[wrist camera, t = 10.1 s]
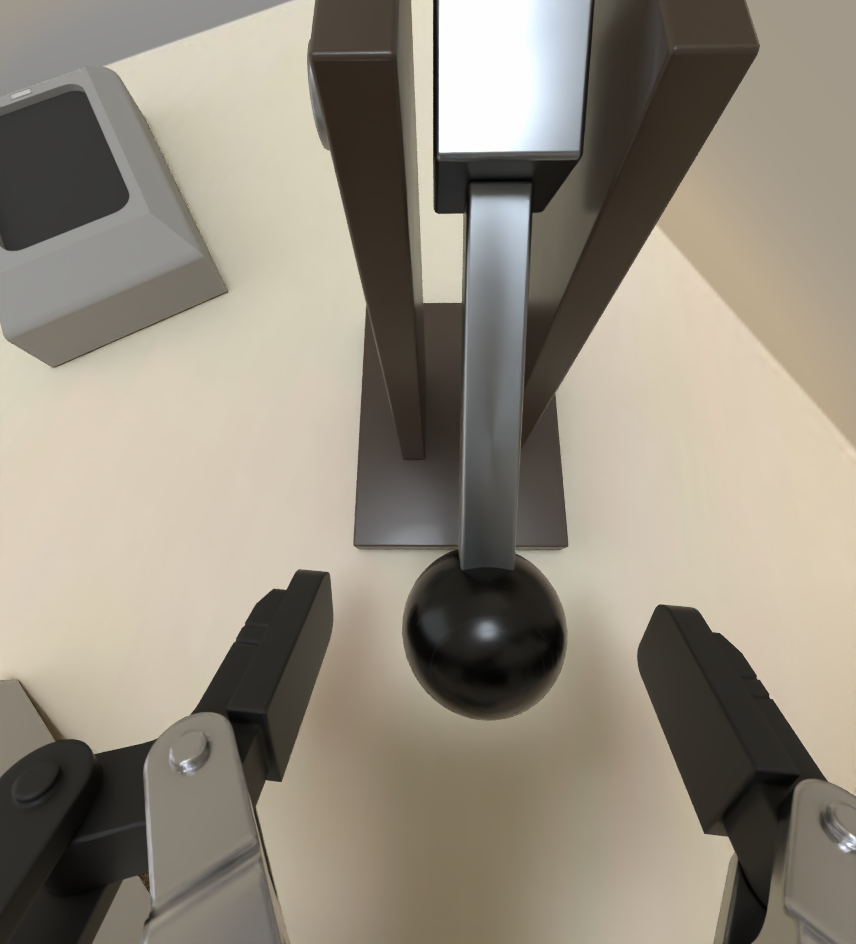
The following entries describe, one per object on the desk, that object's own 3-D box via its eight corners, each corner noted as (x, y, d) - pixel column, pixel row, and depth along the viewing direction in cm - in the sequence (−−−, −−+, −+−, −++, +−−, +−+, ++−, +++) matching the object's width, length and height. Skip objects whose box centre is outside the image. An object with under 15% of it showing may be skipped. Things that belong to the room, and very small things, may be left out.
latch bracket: (560, 550, 19) (1109, 357, 3) (357, 549, 19) (37, 360, 4) (541, 317, 22) (779, -300, 7) (369, 317, 22) (227, -284, 7)
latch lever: (539, 645, 12) (584, 766, 8) (408, 644, 12) (397, 764, 8) (580, 65, 8) (686, -150, 5) (398, 68, 8) (372, -143, 5)
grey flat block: (-23, 322, 18) (-82, 104, 22) (52, 367, 22) (-10, 172, 25) (189, 235, 19) (98, 42, 23) (227, 291, 23) (143, 115, 27)
